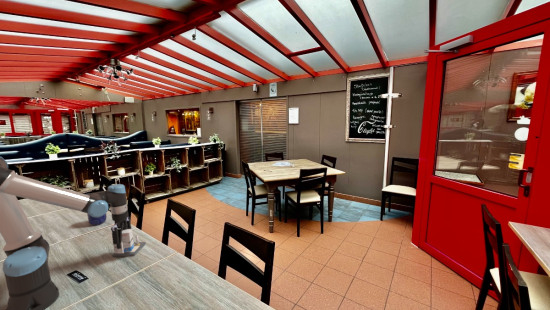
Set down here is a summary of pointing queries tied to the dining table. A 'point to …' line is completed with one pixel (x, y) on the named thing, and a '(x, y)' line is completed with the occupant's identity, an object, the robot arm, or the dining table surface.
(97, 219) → the planter
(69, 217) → the dining table surface
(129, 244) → the ink box
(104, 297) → the dining table surface
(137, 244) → the header board
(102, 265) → the dining table surface
